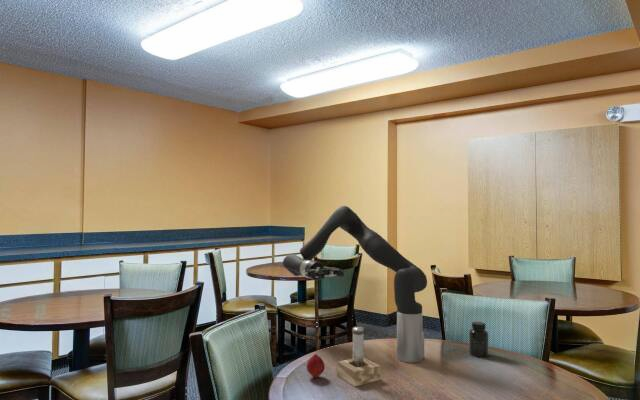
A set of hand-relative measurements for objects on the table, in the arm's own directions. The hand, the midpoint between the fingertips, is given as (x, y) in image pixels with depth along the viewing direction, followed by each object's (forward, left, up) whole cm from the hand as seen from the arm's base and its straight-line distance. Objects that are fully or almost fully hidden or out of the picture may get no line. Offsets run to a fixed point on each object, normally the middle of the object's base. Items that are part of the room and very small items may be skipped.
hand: (333, 274), depth 159 cm
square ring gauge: (+5, +23, -30) cm, 38 cm away
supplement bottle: (-48, +28, -30) cm, 63 cm away
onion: (+17, +16, -30) cm, 38 cm away
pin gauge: (+5, +23, -29) cm, 37 cm away
